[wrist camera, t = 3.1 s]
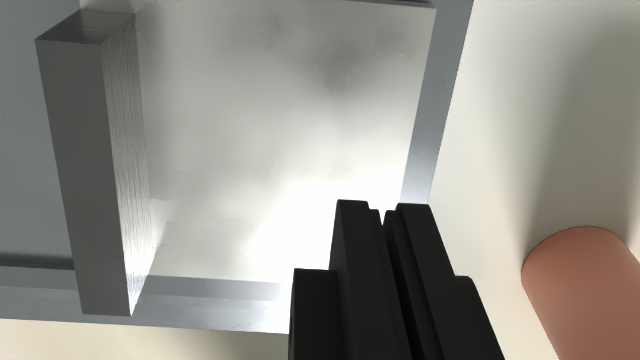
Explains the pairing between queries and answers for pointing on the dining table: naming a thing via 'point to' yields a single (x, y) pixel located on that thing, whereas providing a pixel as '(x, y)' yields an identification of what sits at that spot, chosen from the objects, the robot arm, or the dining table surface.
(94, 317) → the grey metal box
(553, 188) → the dining table surface
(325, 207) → the guard cover
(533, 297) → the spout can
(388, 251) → the robot arm
